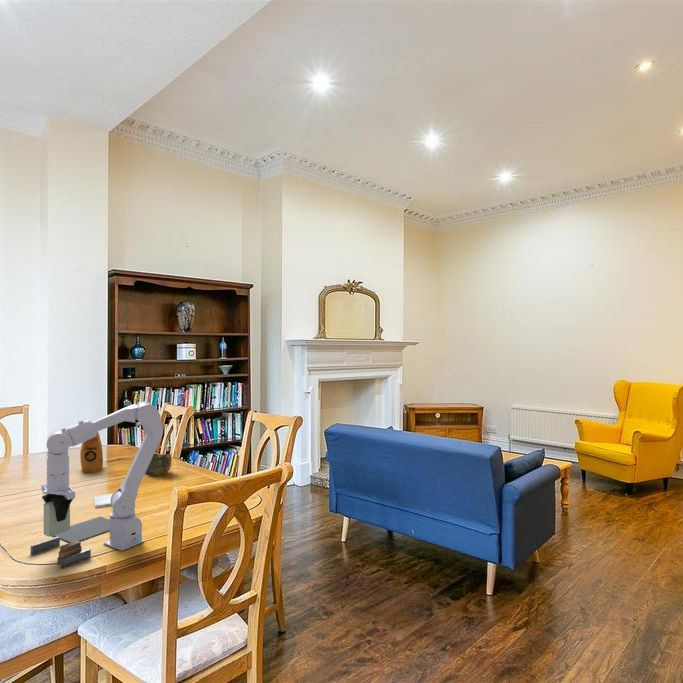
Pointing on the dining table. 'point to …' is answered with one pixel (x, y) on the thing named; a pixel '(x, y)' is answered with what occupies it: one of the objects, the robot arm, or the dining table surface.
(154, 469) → the dark green bowl
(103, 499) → the hard drive
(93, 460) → the coffee package
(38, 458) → the dining table surface
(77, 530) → the slate mat
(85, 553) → the offcut rack
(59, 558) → the offcut stack
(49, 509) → the tall pastel pillar
